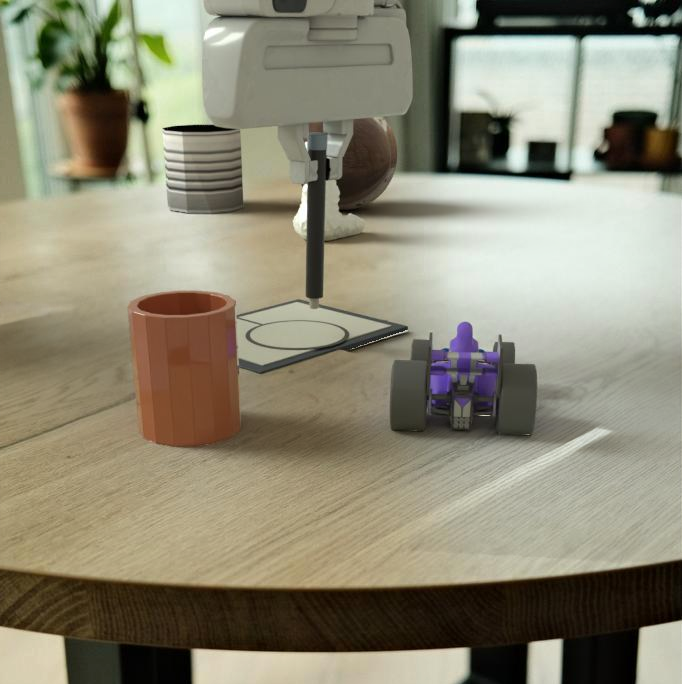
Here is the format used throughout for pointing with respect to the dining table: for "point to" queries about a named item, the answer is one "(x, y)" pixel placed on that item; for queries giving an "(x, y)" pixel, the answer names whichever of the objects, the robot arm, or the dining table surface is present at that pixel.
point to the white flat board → (302, 334)
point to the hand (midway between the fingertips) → (316, 181)
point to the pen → (316, 220)
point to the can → (203, 168)
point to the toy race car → (463, 385)
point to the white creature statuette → (329, 215)
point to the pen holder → (185, 367)
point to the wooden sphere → (365, 162)
